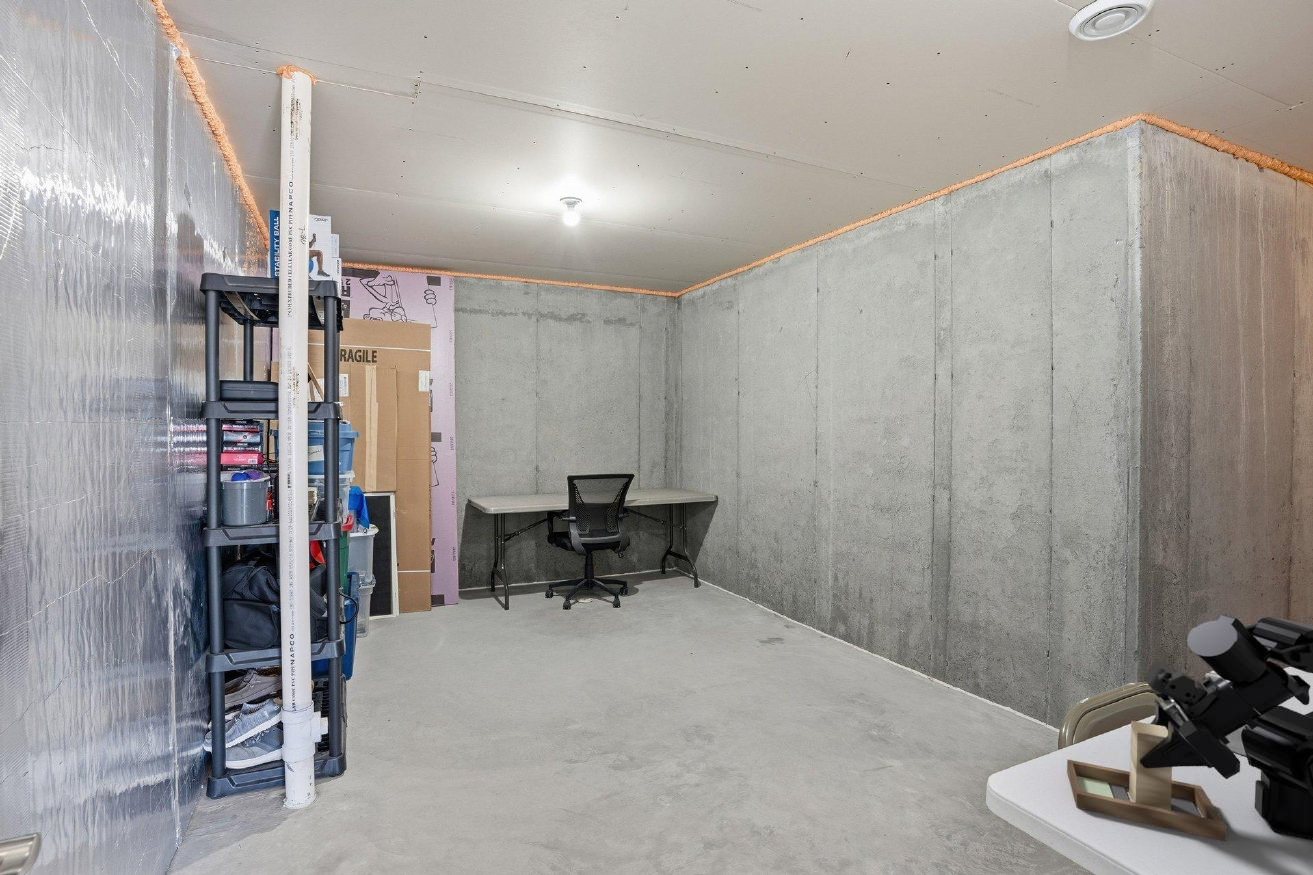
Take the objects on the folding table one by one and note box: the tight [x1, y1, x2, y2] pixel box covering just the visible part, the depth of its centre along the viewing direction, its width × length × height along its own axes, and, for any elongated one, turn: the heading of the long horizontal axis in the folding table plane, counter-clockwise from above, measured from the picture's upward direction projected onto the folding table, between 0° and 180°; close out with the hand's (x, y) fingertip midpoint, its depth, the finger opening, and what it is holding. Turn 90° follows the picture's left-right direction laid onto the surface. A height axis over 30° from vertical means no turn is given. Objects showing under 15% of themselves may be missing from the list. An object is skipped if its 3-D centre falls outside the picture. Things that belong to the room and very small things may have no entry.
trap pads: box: [1109, 783, 1202, 817], centre depth 93 cm, size 10×8×1 cm
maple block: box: [1128, 720, 1173, 811], centre depth 93 cm, size 4×4×11 cm
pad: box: [1077, 776, 1115, 798], centre depth 96 cm, size 4×8×1 cm, turn 154°
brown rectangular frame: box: [1066, 759, 1227, 842], centre depth 94 cm, size 16×10×2 cm, turn 64°
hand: (1138, 757), depth 94 cm, fingers open, 4 cm apart
